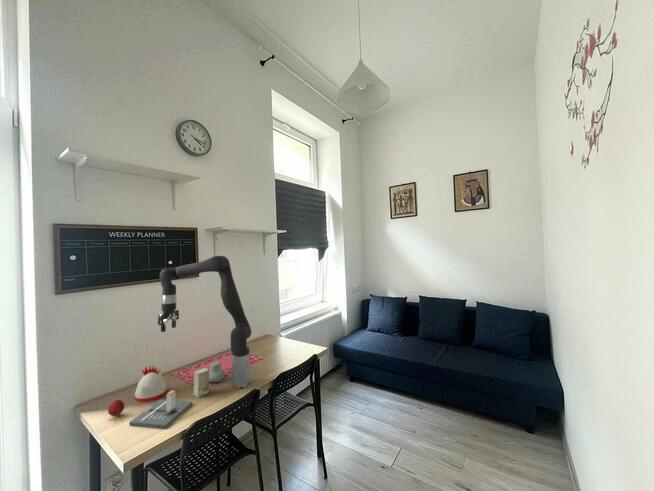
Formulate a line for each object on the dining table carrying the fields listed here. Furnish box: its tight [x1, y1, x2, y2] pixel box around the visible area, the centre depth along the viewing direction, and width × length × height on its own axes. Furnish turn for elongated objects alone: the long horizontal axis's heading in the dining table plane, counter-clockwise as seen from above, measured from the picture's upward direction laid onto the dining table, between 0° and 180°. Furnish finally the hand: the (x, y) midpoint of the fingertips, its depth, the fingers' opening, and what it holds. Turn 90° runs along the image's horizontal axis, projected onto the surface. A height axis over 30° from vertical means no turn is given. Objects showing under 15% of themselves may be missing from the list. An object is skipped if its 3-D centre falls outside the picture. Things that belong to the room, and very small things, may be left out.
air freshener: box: [209, 360, 226, 383], centre depth 155 cm, size 11×8×10 cm
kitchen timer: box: [134, 365, 168, 403], centre depth 139 cm, size 14×14×15 cm
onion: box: [107, 398, 125, 418], centre depth 121 cm, size 6×6×8 cm
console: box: [128, 398, 193, 430], centre depth 122 cm, size 17×18×2 cm
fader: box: [165, 390, 176, 414], centre depth 121 cm, size 2×5×8 cm, turn 173°
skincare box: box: [193, 367, 210, 398], centre depth 140 cm, size 6×4×12 cm
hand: (168, 329), depth 156 cm, fingers open, 8 cm apart
